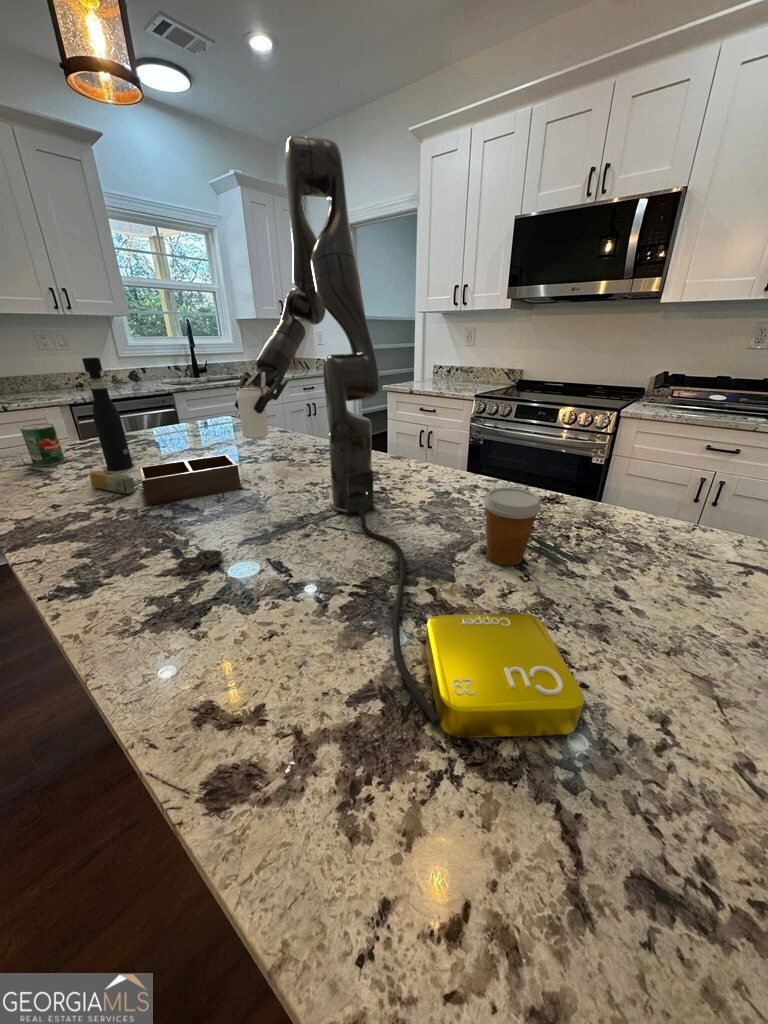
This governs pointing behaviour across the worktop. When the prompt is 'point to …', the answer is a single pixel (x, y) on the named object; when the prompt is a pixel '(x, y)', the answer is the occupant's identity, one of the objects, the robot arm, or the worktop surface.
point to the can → (251, 413)
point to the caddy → (189, 478)
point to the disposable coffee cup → (509, 523)
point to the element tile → (499, 677)
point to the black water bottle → (107, 420)
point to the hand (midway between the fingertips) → (247, 409)
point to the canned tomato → (43, 444)
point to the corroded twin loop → (199, 561)
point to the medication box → (112, 482)
